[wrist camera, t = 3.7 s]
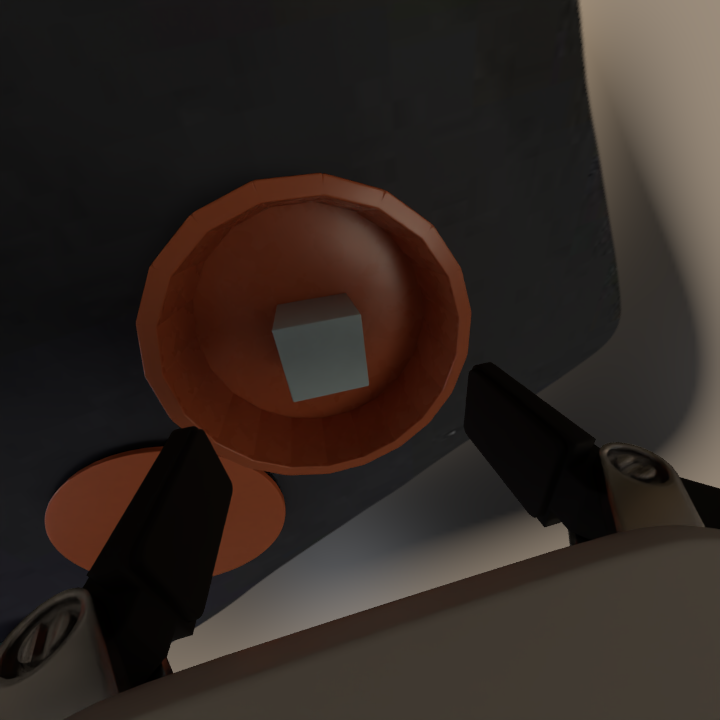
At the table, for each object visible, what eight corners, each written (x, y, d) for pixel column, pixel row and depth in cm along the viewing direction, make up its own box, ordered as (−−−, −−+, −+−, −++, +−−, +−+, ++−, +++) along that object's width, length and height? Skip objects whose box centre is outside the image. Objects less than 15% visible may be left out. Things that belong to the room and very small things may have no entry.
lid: (-6, 475, 17) (-176, 622, 11) (254, 416, 20) (235, 511, 13) (129, 588, 25) (75, 711, 19) (303, 538, 28) (306, 633, 21)
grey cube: (276, 304, 16) (271, 330, 12) (346, 292, 16) (361, 313, 13) (293, 365, 18) (293, 403, 14) (354, 352, 18) (369, 385, 15)
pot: (125, 207, 13) (38, 203, 8) (430, 172, 15) (487, 154, 10) (236, 441, 20) (220, 502, 16) (427, 396, 22) (459, 439, 18)
